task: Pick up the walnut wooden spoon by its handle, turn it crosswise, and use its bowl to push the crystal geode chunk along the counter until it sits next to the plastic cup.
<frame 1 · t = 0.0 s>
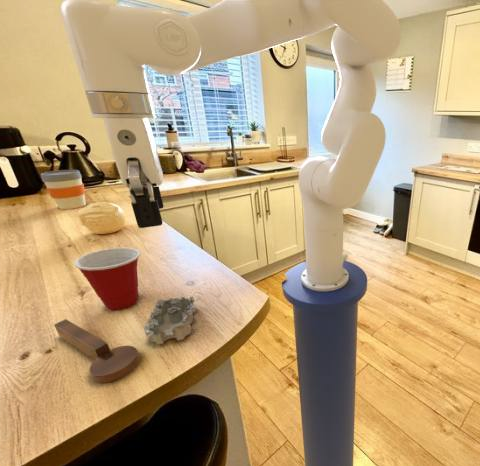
hand: (152, 216, 49), 24 cm above the counter, tool pointing down, fingers open, 9 cm apart
cream rounded lump: (108, 231, 103), on the counter
spoon: (94, 352, 52), on the counter
plastic cup: (124, 303, 65), on the counter
reusable coffee cup: (73, 206, 129), on the counter
crystal geode chunk: (174, 326, 58), on the counter
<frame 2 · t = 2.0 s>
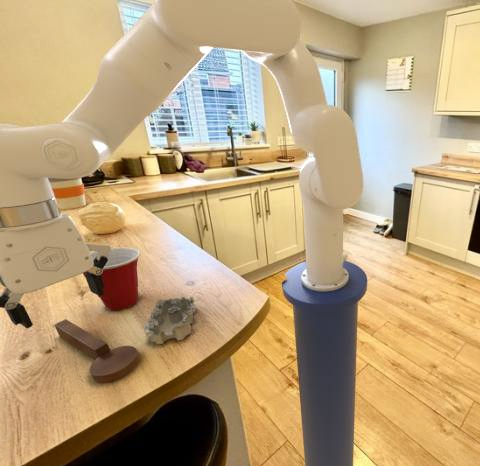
hand: (64, 307, 49), 9 cm above the counter, tool pointing down, fingers open, 9 cm apart
nothing on the counter moved.
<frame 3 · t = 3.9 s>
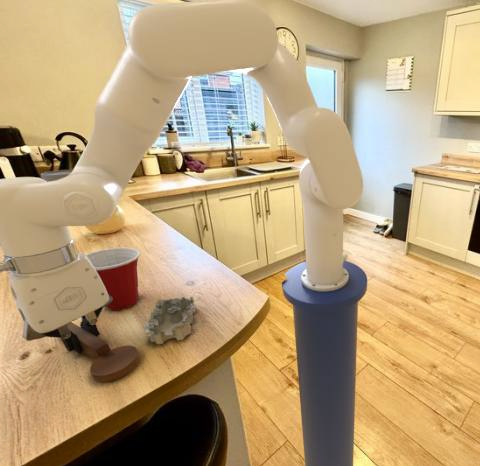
hand: (85, 345, 53), 0 cm above the counter, tool pointing down, fingers closed on spoon
spoon: (94, 352, 52), on the counter, touching gripper
everything else where it was.
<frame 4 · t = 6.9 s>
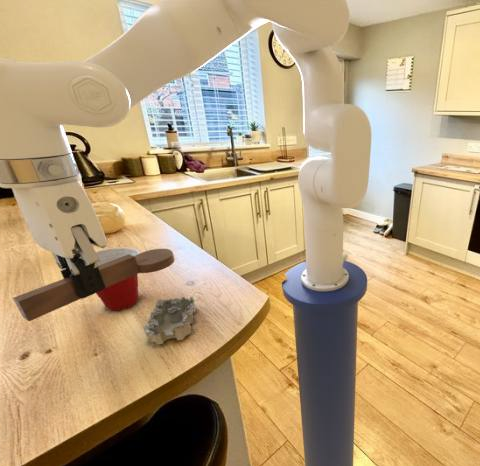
hand: (88, 290, 44), 15 cm above the counter, tool pointing down, fingers closed on spoon
spoon: (111, 282, 46), point 14 cm above the counter, touching gripper
everything else where it was.
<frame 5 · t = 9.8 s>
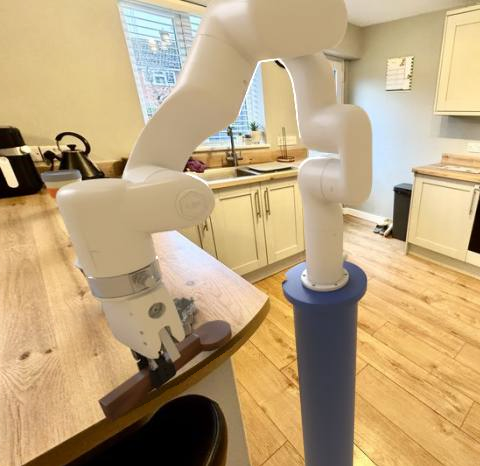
hand: (160, 377, 44), 2 cm above the counter, tool pointing down, fingers closed on spoon
spoon: (178, 365, 47), point 2 cm above the counter, touching gripper
everything else where it was.
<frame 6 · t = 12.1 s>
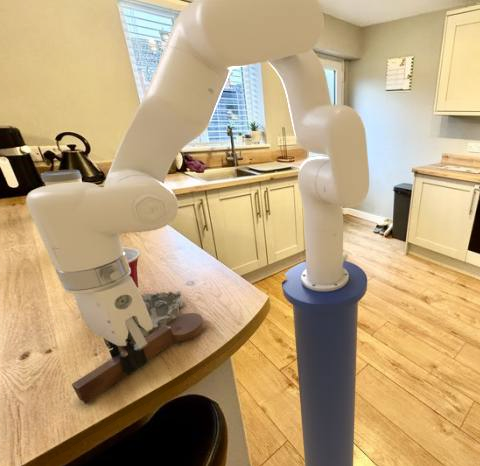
hand: (132, 364, 48), 1 cm above the counter, tool pointing down, fingers closed on spoon
spoon: (150, 354, 51), on the counter, touching crystal geode chunk, gripper
crystal geode chunk: (160, 319, 60), on the counter, touching spoon
everything else where it was.
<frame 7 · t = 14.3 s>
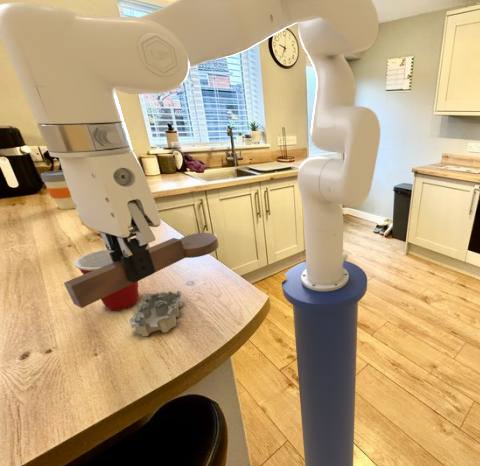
hand: (137, 274, 41), 19 cm above the counter, tool pointing down, fingers closed on spoon
spoon: (158, 268, 43), point 18 cm above the counter, touching gripper
crystal geode chunk: (160, 319, 60), on the counter
everything else where it was.
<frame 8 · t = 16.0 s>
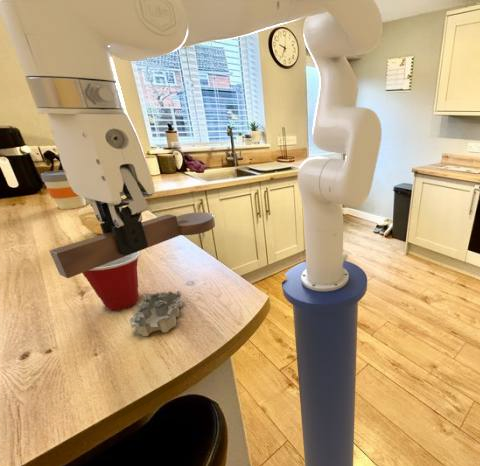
hand: (129, 248, 39), 23 cm above the counter, tool pointing down, fingers closed on spoon
spoon: (151, 243, 41), point 23 cm above the counter, touching gripper
everything else where it was.
at the end: crystal geode chunk 12.5 cm from the plastic cup (horizontally); crystal geode chunk moved 4.5 cm from its start; plastic cup moved 0.2 cm from its start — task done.
